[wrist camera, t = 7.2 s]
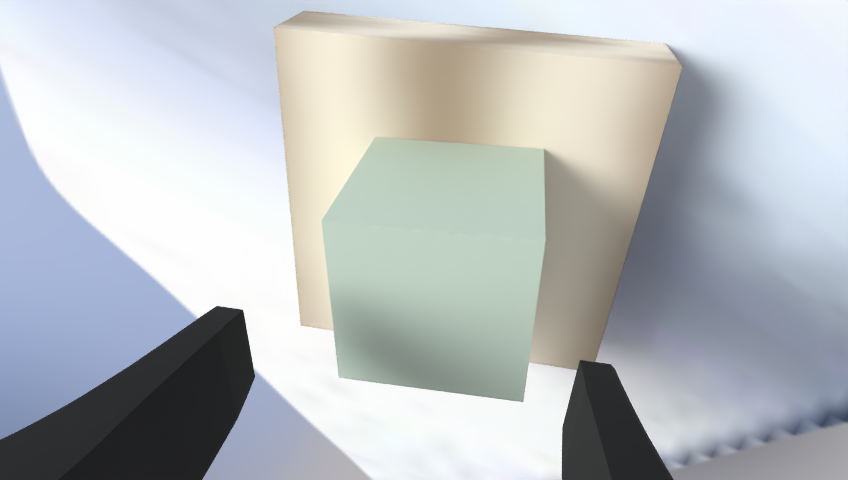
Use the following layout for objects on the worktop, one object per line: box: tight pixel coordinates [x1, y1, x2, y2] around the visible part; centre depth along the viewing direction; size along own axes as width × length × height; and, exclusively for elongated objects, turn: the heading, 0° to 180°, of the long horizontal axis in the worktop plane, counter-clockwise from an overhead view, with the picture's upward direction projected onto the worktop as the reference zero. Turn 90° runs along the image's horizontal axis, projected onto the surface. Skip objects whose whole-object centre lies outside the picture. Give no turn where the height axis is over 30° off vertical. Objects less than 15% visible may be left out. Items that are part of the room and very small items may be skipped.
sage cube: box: [321, 137, 546, 402], centre depth 16 cm, size 5×5×5 cm
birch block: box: [274, 11, 683, 370], centre depth 19 cm, size 11×11×3 cm
